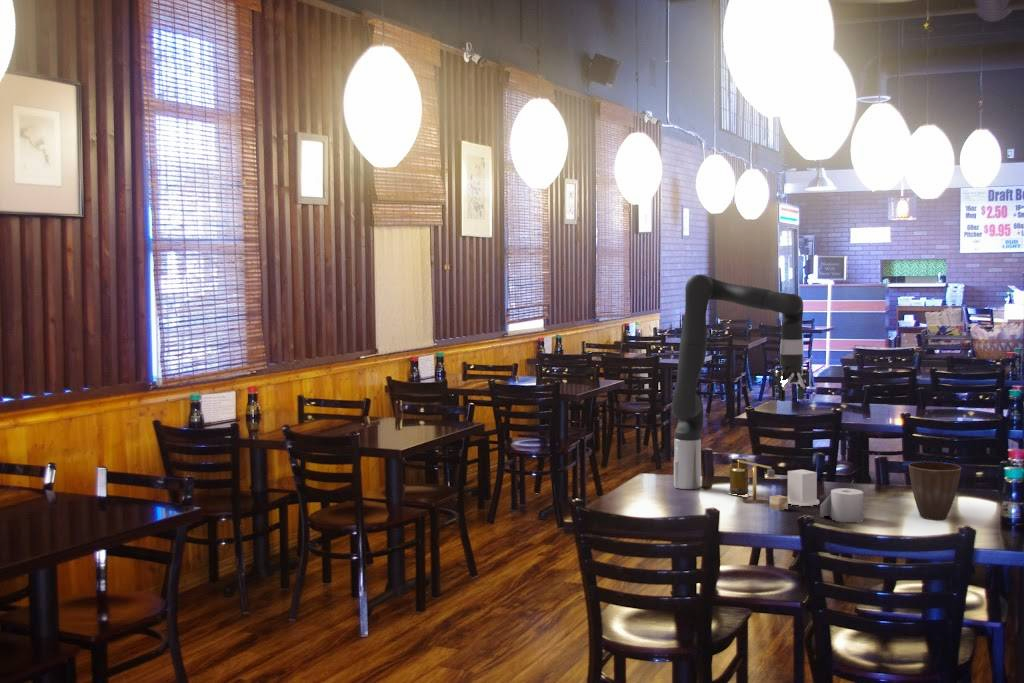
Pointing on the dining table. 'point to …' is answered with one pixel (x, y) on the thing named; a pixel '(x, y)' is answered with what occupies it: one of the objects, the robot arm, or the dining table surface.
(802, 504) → the dish
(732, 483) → the condiment
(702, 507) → the dining table surface
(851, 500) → the toilet tissue
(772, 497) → the block
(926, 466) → the plant pot
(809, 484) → the white rectangular block
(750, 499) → the balance
